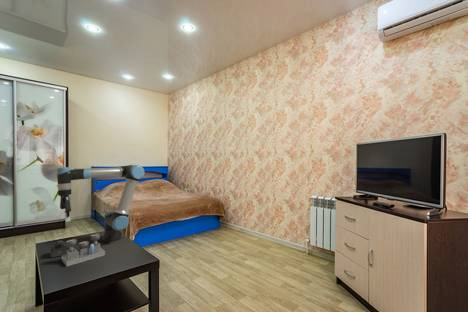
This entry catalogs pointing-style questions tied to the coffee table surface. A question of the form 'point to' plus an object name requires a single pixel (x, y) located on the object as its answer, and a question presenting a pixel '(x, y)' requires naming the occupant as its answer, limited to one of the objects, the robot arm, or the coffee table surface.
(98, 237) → the knob
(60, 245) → the camera
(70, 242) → the knob
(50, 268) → the coffee table surface
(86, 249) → the knob panel
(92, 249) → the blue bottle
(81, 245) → the knob mid
